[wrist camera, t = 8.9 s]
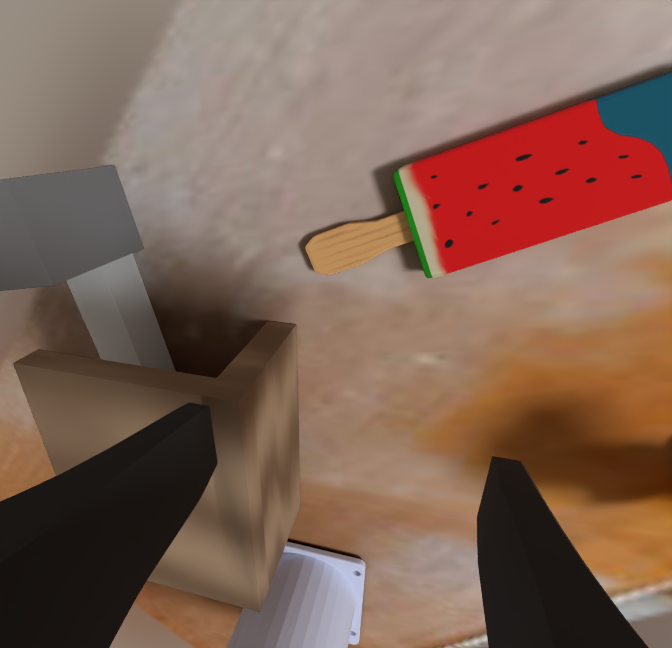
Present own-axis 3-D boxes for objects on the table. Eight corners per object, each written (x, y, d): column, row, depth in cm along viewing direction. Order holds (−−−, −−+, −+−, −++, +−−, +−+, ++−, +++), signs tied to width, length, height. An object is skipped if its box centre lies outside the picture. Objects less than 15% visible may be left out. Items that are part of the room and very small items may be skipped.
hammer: (217, 454, 26) (165, 528, 21) (164, 452, 27) (104, 522, 23) (114, 165, 19) (4, 178, 14) (49, 177, 20) (-73, 194, 16)
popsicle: (285, 214, 17) (729, 38, 12) (296, 207, 19) (701, 46, 13) (325, 309, 19) (735, 191, 13) (333, 297, 20) (710, 185, 15)
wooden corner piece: (300, 505, 26) (260, 612, 21) (162, 475, 28) (90, 564, 23) (296, 324, 21) (238, 402, 15) (123, 302, 23) (12, 363, 17)
